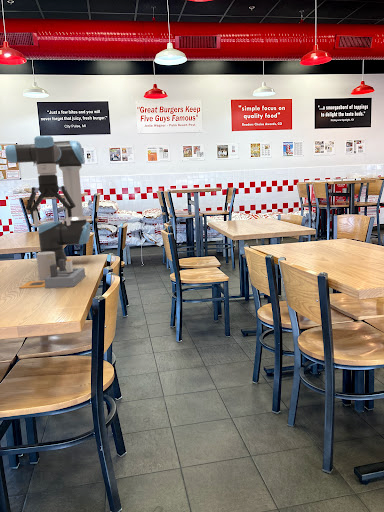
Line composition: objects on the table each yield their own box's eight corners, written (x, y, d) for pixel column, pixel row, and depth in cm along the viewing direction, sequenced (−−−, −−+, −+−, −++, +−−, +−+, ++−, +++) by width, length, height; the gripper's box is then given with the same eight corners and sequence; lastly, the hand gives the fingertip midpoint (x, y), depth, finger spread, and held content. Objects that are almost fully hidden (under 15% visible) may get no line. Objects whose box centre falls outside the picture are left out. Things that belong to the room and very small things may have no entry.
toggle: (68, 271, 191) (67, 259, 190) (73, 270, 191) (71, 259, 190) (66, 272, 188) (65, 260, 187) (71, 272, 188) (69, 260, 187)
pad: (29, 282, 193) (29, 281, 193) (53, 281, 193) (53, 280, 193) (19, 288, 182) (19, 287, 182) (45, 287, 182) (45, 286, 182)
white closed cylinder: (51, 280, 194) (49, 254, 192) (35, 280, 196) (32, 254, 194) (60, 276, 202) (58, 251, 200) (45, 276, 204) (42, 251, 202)
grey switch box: (59, 277, 200) (57, 258, 198) (85, 276, 200) (83, 257, 198) (45, 288, 180) (43, 267, 179) (73, 286, 180) (71, 265, 179)
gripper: (13, 176, 173) (19, 228, 177) (74, 173, 172) (79, 225, 176) (21, 176, 181) (27, 226, 184) (79, 173, 180) (84, 223, 183)
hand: (52, 226), depth 180 cm, fingers open, 13 cm apart
